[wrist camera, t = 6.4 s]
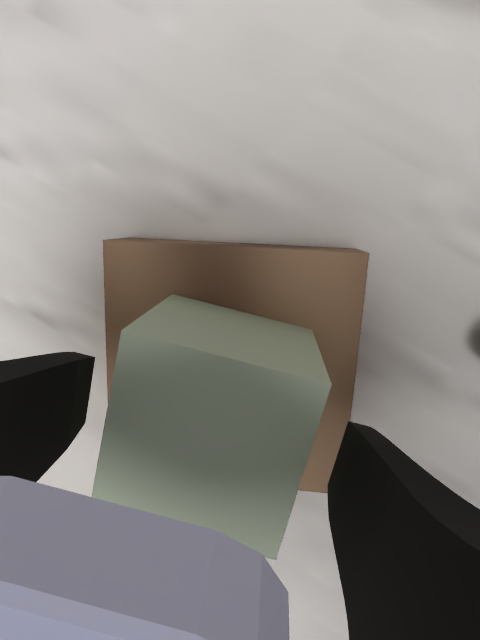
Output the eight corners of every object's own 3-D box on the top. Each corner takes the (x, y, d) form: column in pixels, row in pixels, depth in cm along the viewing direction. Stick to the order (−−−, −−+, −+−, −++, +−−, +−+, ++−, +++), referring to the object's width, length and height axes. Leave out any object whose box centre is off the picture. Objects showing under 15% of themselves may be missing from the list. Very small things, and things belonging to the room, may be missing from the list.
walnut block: (353, 248, 17) (369, 253, 14) (332, 452, 19) (341, 494, 16) (132, 236, 17) (102, 239, 14) (135, 434, 19) (110, 472, 16)
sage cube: (312, 329, 14) (331, 384, 10) (275, 454, 16) (275, 559, 11) (172, 293, 14) (121, 329, 10) (146, 420, 16) (89, 510, 11)
